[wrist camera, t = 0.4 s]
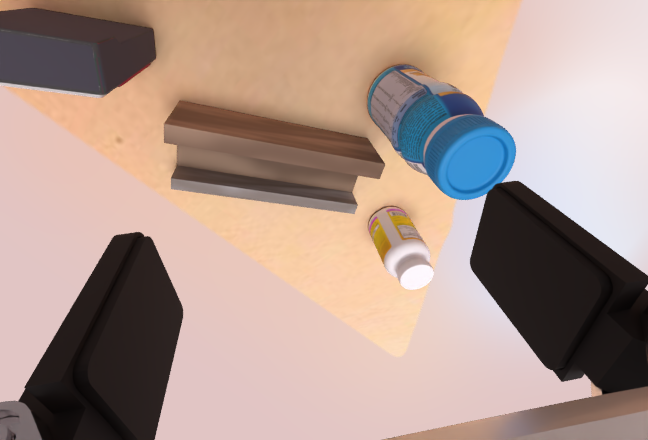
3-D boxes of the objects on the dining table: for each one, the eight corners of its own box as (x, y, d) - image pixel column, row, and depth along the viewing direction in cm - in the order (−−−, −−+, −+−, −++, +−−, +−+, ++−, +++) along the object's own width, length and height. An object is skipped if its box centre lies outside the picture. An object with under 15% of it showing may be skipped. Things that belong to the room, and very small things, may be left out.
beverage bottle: (358, 75, 41) (422, 135, 25) (425, 52, 40) (534, 98, 24) (371, 137, 46) (431, 222, 30) (431, 118, 45) (524, 192, 29)
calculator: (42, 49, 34) (-76, 85, 22) (29, -1, 32) (-110, 10, 20) (157, 66, 37) (107, 107, 25) (153, 21, 35) (95, 42, 23)
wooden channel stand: (179, 100, 39) (163, 123, 33) (367, 138, 46) (385, 164, 39) (178, 172, 44) (164, 204, 38) (347, 197, 51) (360, 228, 44)
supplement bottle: (376, 244, 57) (401, 301, 47) (361, 217, 53) (385, 273, 43) (412, 226, 56) (446, 281, 46) (399, 198, 52) (433, 251, 42)
